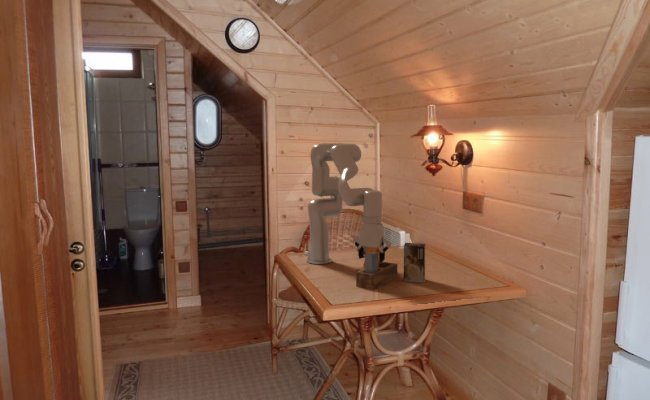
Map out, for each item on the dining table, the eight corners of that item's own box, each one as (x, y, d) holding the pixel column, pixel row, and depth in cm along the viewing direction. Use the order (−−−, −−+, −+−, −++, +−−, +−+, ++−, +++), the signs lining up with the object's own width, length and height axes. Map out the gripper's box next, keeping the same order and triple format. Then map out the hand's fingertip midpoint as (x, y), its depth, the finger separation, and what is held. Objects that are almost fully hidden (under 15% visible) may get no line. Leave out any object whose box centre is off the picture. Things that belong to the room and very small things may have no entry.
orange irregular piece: (375, 273, 232) (375, 247, 231) (363, 270, 237) (363, 245, 236) (390, 268, 240) (390, 243, 238) (378, 265, 245) (378, 241, 243)
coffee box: (425, 279, 222) (426, 243, 220) (424, 283, 216) (425, 246, 214) (404, 277, 224) (405, 242, 222) (402, 281, 218) (403, 245, 216)
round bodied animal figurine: (351, 255, 266) (351, 239, 265) (365, 251, 274) (366, 236, 273) (361, 257, 261) (361, 241, 260) (376, 253, 269) (376, 238, 268)
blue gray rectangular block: (365, 282, 212) (365, 254, 211) (371, 278, 217) (372, 251, 216) (371, 283, 210) (371, 255, 209) (378, 279, 215) (378, 252, 214)
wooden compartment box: (356, 286, 212) (356, 272, 211) (379, 273, 230) (379, 261, 229) (375, 289, 207) (375, 275, 206) (397, 276, 225) (397, 263, 225)
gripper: (349, 219, 212) (349, 258, 214) (387, 223, 203) (386, 264, 205) (358, 216, 218) (357, 254, 221) (395, 220, 209) (393, 260, 212)
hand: (371, 259), depth 213 cm, fingers open, 9 cm apart
